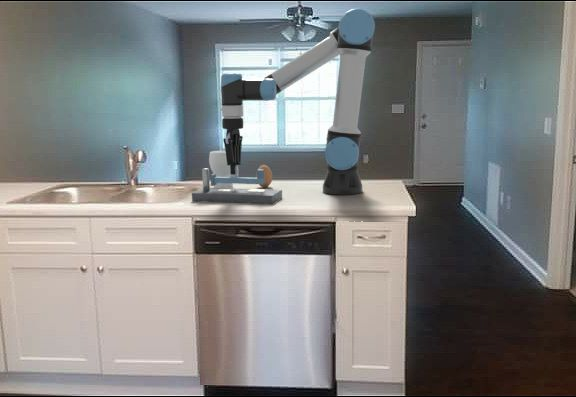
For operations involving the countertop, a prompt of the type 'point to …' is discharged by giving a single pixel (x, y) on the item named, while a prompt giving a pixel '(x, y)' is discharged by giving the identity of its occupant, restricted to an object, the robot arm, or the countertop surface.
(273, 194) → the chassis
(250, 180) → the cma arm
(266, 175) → the egg
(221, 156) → the cup
